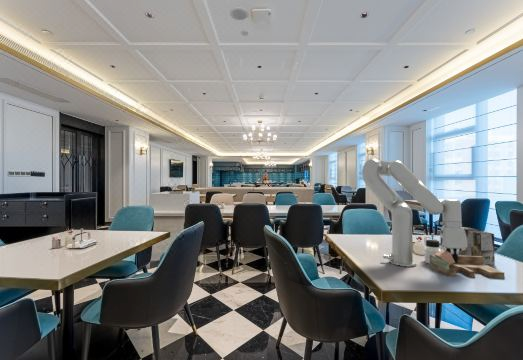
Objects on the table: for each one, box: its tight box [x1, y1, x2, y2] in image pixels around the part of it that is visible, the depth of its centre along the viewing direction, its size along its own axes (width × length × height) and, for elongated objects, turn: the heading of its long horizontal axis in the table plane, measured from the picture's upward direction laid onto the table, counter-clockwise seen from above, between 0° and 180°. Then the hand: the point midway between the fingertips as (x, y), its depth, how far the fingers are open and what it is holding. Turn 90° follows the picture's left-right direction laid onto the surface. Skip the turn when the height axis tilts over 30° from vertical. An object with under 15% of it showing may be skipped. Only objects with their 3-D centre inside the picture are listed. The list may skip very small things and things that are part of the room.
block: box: [435, 249, 455, 265], centre depth 125 cm, size 5×5×5 cm
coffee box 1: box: [458, 226, 479, 256], centre depth 152 cm, size 9×6×16 cm
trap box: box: [429, 254, 505, 279], centre depth 122 cm, size 24×14×6 cm, turn 82°
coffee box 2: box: [471, 230, 496, 266], centre depth 138 cm, size 9×6×16 cm
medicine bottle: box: [424, 238, 442, 264], centre depth 138 cm, size 7×7×12 cm
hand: (453, 261), depth 125 cm, fingers closed
